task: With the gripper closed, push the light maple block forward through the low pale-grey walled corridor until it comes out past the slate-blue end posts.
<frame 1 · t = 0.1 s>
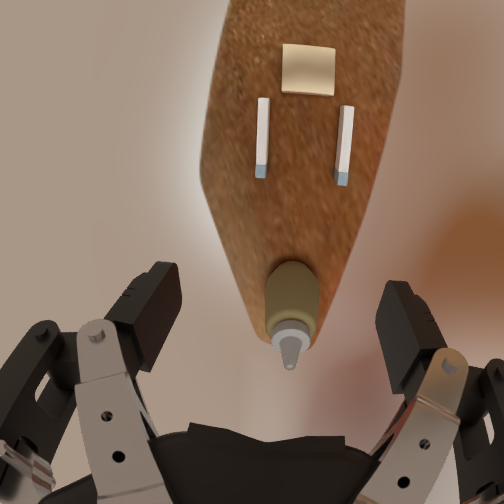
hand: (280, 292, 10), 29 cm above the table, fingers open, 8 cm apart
corridor: (303, 138, 34), on the table
maple block: (306, 72, 30), on the table
squeeze bottle: (292, 275, 45), on the table
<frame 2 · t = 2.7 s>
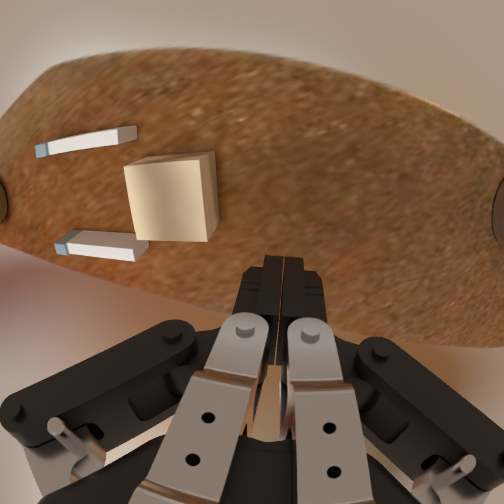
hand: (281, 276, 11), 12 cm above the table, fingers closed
corridor: (99, 189, 24), on the table
maple block: (183, 187, 23), on the table
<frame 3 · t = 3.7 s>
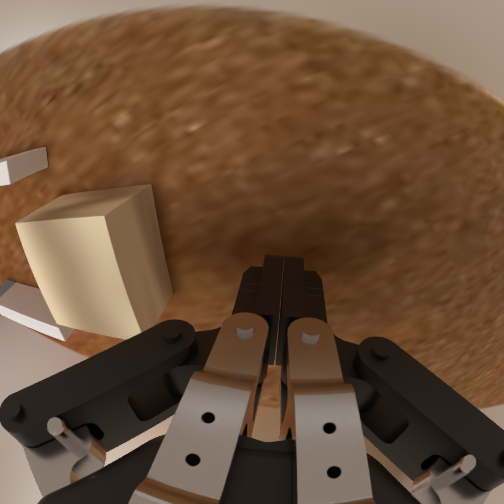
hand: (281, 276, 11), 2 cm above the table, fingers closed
corridor: (20, 235, 15), on the table
maple block: (115, 241, 14), on the table
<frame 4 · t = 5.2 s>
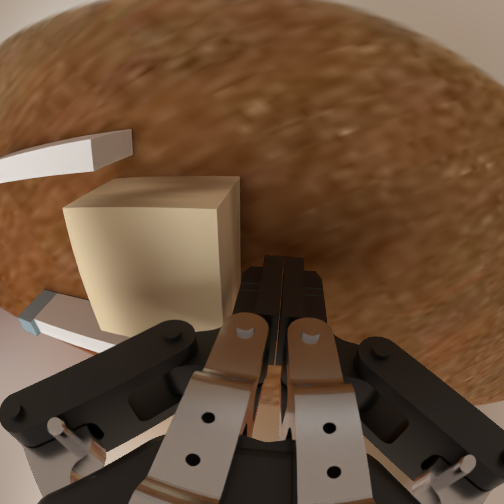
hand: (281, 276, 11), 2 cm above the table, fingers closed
corridor: (72, 238, 14), on the table
maple block: (178, 237, 13), on the table, touching gripper
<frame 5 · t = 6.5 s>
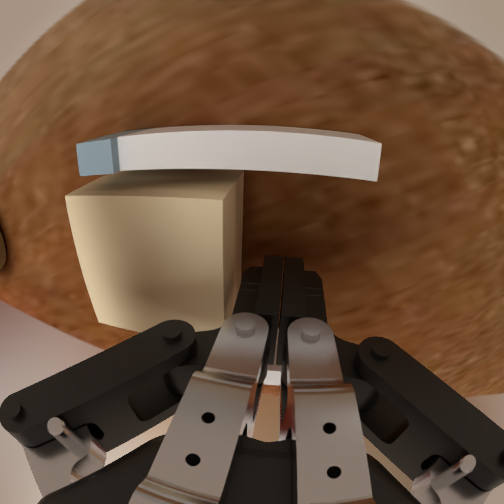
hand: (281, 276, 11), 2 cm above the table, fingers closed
corridor: (233, 251, 13), on the table
maple block: (179, 230, 13), on the table, touching gripper
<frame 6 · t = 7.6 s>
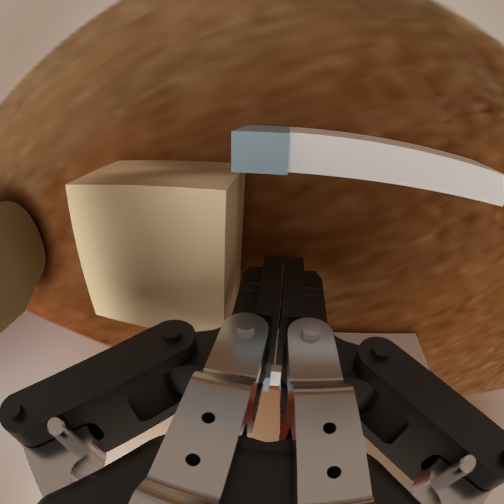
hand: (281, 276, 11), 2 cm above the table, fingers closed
corridor: (354, 261, 13), on the table
maple block: (179, 222, 13), on the table, touching gripper
squeeze bottle: (23, 237, 15), on the table
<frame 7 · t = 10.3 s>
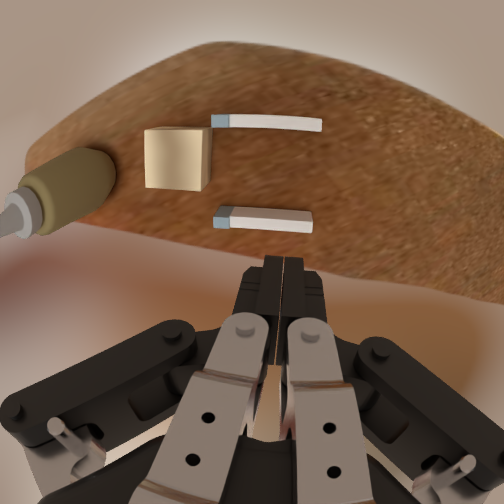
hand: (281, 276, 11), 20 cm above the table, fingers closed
corridor: (266, 168, 29), on the table
maple block: (185, 153, 29), on the table
squeeze bottle: (99, 171, 31), on the table
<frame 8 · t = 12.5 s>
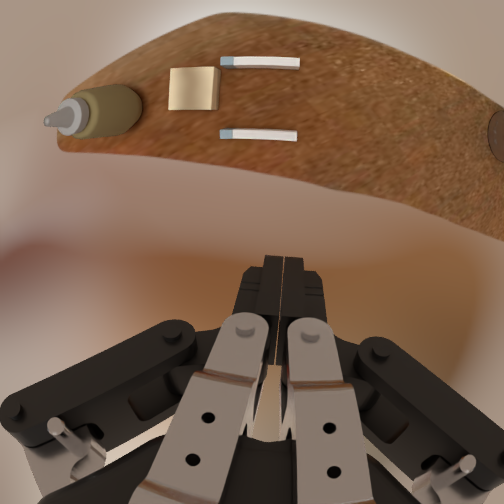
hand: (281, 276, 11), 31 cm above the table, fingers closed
corridor: (261, 98, 35), on the table
maple block: (199, 89, 35), on the table
squeeze bottle: (128, 108, 37), on the table
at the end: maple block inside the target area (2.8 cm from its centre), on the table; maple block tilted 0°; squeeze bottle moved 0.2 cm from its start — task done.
